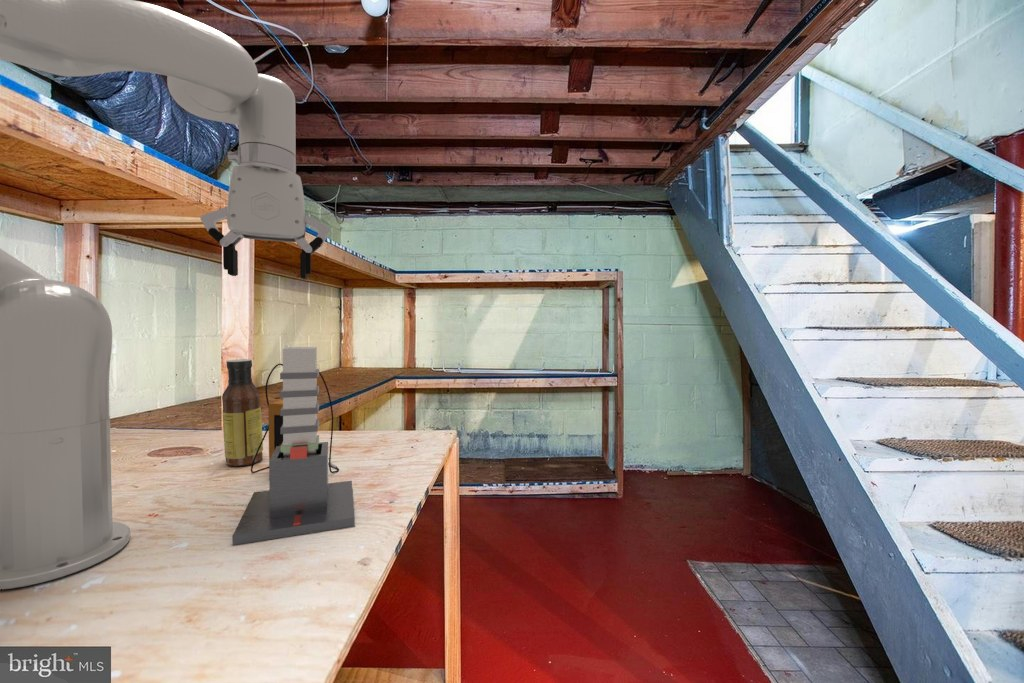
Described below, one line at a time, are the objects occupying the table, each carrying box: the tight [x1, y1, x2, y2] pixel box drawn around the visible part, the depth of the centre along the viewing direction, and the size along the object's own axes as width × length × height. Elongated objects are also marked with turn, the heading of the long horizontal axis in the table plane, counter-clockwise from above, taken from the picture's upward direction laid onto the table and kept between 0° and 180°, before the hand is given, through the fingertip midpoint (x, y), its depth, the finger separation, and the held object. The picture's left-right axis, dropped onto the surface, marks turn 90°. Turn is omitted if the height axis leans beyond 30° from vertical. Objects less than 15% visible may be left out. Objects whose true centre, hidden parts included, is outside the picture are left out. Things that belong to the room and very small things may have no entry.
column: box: [279, 346, 320, 458], centre depth 60 cm, size 5×5×16 cm
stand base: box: [232, 441, 356, 546], centre depth 60 cm, size 14×14×10 cm
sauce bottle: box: [221, 358, 264, 467], centre depth 80 cm, size 6×6×20 cm
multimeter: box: [250, 363, 340, 474], centre depth 78 cm, size 15×10×20 cm
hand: (269, 277), depth 65 cm, fingers open, 9 cm apart
